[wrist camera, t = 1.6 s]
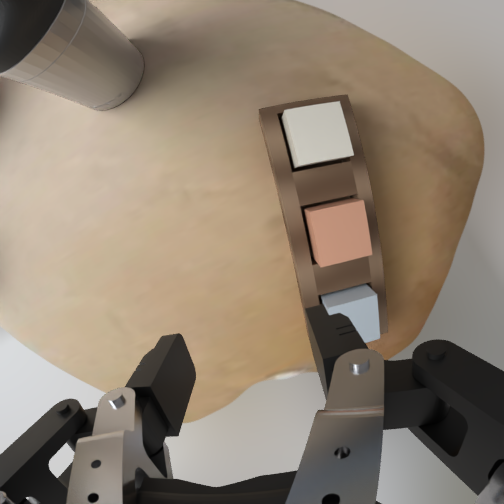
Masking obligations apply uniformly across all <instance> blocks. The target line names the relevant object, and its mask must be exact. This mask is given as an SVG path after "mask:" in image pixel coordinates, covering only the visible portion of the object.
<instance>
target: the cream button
mask: <svg viewBox="0 0 504 504" xmlns="http://www.w3.org/2000/svg"><path fill="white" fill-rule="evenodd" d="M282 123H283V127H284V131H285V134H286V138H287V142H288V146H289V150H290V154H291V158H292V162H293V166H294V168H297V167H302V166H307V165H312V164H317V163H322V162H327V161H333V160H338V159H343V158H347V157H350V156H353V155H354V153H353V149H352V145H351V141H350V137H349V133H348V129H347V125H346V122H345V118H344V115H343V111H342V108H341V104H340V101H338V102H330V103H323V104H317V105H310V106H304V107H298V108H293V109H287V110H284V113H283V116H282Z"/></svg>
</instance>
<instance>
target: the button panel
mask: <svg viewBox="0 0 504 504" xmlns="http://www.w3.org/2000/svg"><path fill="white" fill-rule="evenodd" d="M338 101H340V104H341V108H342V111H343V115H344V118H345V122H346V125H347V129H348V133H349V137H350V141H351V145H352V149H353V153H354V155H353V156H350V157H347V158H343V159H338V160H333V161H327V162H322V163H317V164H312V165H307V166H302V167H297V168H294V166H293V162H292V158H291V154H290V150H289V146H288V142H287V138H286V134H285V131H284V127H283V123H282V116H283V113H284V110H287V109H293V108H298V107H304V106H310V105H317V104H323V103H330V102H338ZM259 120H260V124H261V128H262V132H263V136H264V140H265V143H266V147H267V151H268V155H269V159H270V163H271V167H272V171H273V175H274V179H275V184H276V188H277V192H278V196H279V200H280V205H281V209H282V213H283V218H284V222H285V226H286V231H287V235H288V240H289V244H290V249H291V253H292V258H293V263H294V267H295V272H296V277H297V282H298V287H299V291H300V296H301V301H302V306H303V311H304V316H305V310H304V308H309V307H313V306H317V305H321V304H322V301H321V295H322V294H326V293H330V292H334V291H338V290H342V289H346V288H349V287H353V286H357V285H361V284H364V283H366V284H367V285H368V286H369V287H370V288H371V289H372V290H373V291H374V292H375V293H376V294H377V300H378V312H379V327H380V334H383V333H386V332H388V321H387V304H386V291H385V280H384V270H383V261H382V253H381V245H380V238H379V231H378V225H377V218H376V212H375V207H374V201H373V196H372V190H371V185H370V180H369V175H368V171H367V166H366V162H365V157H364V153H363V149H362V145H361V141H360V137H359V133H358V129H357V126H356V122H355V118H354V115H353V111H352V108H351V105H350V101H349V98H348V95H339V96H331V97H324V98H317V99H311V100H304V101H298V102H293V103H287V104H282V105H277V106H272V107H267V108H262V109H259ZM351 198H353V199H359V200H364V205H365V210H366V216H367V222H368V228H369V234H370V241H371V248H372V255H369V256H365V257H361V258H357V259H353V260H350V261H346V262H342V263H338V264H333V265H329V266H325V267H320V266H319V265H318V263H317V262H316V260H315V259H314V257H313V252H312V247H311V242H310V237H309V232H308V227H307V223H306V218H305V213H304V209H305V208H309V207H314V206H318V205H323V204H327V203H332V202H337V201H341V200H346V199H351ZM305 322H306V327H307V332H308V326H307V321H306V316H305ZM308 337H309V332H308ZM309 340H310V337H309Z"/></svg>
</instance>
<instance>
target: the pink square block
mask: <svg viewBox="0 0 504 504" xmlns="http://www.w3.org/2000/svg"><path fill="white" fill-rule="evenodd" d="M304 213H305V218H306V223H307V227H308V232H309V237H310V242H311V247H312V252H313V257H314V259H315V260H316V262H317V263H318V265H319V266H320V267H325V266H329V265H333V264H338V263H342V262H346V261H350V260H353V259H357V258H361V257H365V256H369V255H372V248H371V241H370V234H369V228H368V222H367V216H366V210H365V205H364V200H359V199H353V198H351V199H346V200H341V201H337V202H332V203H327V204H323V205H318V206H314V207H309V208H305V209H304Z"/></svg>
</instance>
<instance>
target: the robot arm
mask: <svg viewBox="0 0 504 504" xmlns="http://www.w3.org/2000/svg"><path fill="white" fill-rule="evenodd" d="M143 71H144V61H143V57H142V55H141V53H140V52H139V51H138V50H137V49H136V48H135V47H134V45H133V44H132V43H131V42H130V41H129V40H128V38H127V37H126V36H125V35H124V34H123V33H122V32H121V31H120V30H119V29H118V28H117V27H116V26H115V25H114V24H113V23H112V22H111V21H110V20H109V19H108V18H107V17H106V16H105V15H104V14H103V13H102V12H101V11H100V10H99V9H97V8H96V7H95V6H94V5H92V4H91V3H90V2H89V1H88V0H0V76H1V77H4V78H7V79H11V80H14V81H17V82H20V83H23V84H26V85H29V86H32V87H35V88H38V89H41V90H44V91H46V92H49V93H52V94H55V95H57V96H60V97H63V98H66V99H68V100H71V101H73V102H76V103H79V104H81V105H84V106H87V107H89V108H92V109H94V110H108V109H111V108H114V107H116V106H118V105H119V104H121V103H123V102H124V101H125V100H126V99H128V98H129V97H130V95H131V94H132V93H133V92H134V91H135V89H136V88H137V86H138V85H139V83H140V81H141V78H142V75H143ZM304 310H305V316H306V321H307V326H308V332H309V337H310V343H311V348H312V352H313V356H314V360H315V363H316V367H317V370H318V373H319V377H320V380H321V383H322V387H323V391H324V394H325V397H326V404H325V408H324V410H318V411H317V413H316V415H315V418H314V421H313V425H312V428H311V431H310V435H309V438H308V441H307V444H306V447H305V450H304V453H303V456H302V459H301V462H300V465H299V468H298V470H297V471H292V472H285V473H279V474H271V475H263V476H258V477H255V478H252V479H248V480H245V481H241V482H237V483H234V484H230V485H226V486H221V487H211V486H206V485H201V484H196V483H191V482H188V481H183V480H179V479H173V474H172V468H171V462H170V457H169V449H168V447H167V445H166V443H165V442H164V440H165V437H169V436H179V432H180V429H181V425H182V422H183V419H184V416H185V412H186V409H187V406H188V403H189V399H190V396H191V393H192V390H193V386H194V383H195V380H196V372H195V367H194V364H193V362H192V359H191V357H190V354H189V351H188V349H187V346H186V344H185V341H184V339H183V337H182V335H181V334H179V333H178V334H172V335H166V336H162V337H161V338H160V340H159V341H158V343H157V345H156V346H155V348H154V349H152V350H151V351H150V352H148V353H147V354H146V355H145V356H144V357H143V358H142V360H141V362H140V363H139V364H140V365H138V366H137V368H136V371H134V373H133V374H132V376H131V378H130V379H129V381H128V383H127V384H126V386H125V387H121V388H117V389H114V390H111V391H109V392H108V393H106V394H105V395H104V396H103V397H102V398H101V399H100V401H99V403H98V407H96V408H91V409H87V410H84V409H83V408H82V406H81V405H80V403H79V402H78V401H77V400H75V399H67V400H63V401H61V402H59V403H57V404H56V405H54V406H53V407H52V408H51V409H50V410H49V411H48V412H47V413H45V414H44V415H43V416H42V417H41V418H40V419H39V420H38V421H37V422H36V423H35V424H33V425H32V426H31V427H30V428H29V429H28V430H27V431H26V432H25V433H23V434H22V435H21V436H20V437H19V438H18V439H17V440H16V441H15V442H14V443H13V444H11V445H10V446H9V447H8V448H7V449H6V450H5V451H4V452H3V453H2V454H1V455H0V504H381V503H379V502H377V501H376V496H377V489H378V481H379V473H380V463H381V452H382V438H383V430H386V429H387V430H388V429H397V428H407V427H408V429H409V430H410V431H411V432H412V433H413V434H414V435H415V436H416V437H417V438H418V439H419V440H420V441H421V442H422V443H423V444H424V445H425V446H426V447H427V448H429V449H430V450H431V451H432V452H433V453H434V454H435V455H436V456H437V457H438V458H439V459H440V460H441V461H442V462H443V463H444V464H445V465H446V466H447V467H448V468H449V469H450V470H451V471H452V472H453V473H455V474H456V475H457V476H458V477H459V478H460V479H461V480H462V481H463V482H464V483H465V484H466V485H467V486H468V487H469V488H470V489H471V490H472V491H474V492H475V493H476V494H477V495H478V497H477V499H476V502H475V504H504V371H502V370H500V369H499V368H497V367H495V366H493V365H491V364H490V363H488V362H486V361H484V360H483V359H481V358H479V357H477V356H475V355H474V354H472V353H470V352H468V351H466V350H465V349H462V348H461V347H459V346H457V345H456V344H454V343H452V342H450V341H446V340H430V341H427V342H424V343H422V344H420V345H419V346H417V347H416V349H415V350H414V352H413V356H412V359H406V360H398V361H388V360H384V358H383V356H382V355H381V354H380V353H379V352H377V351H375V350H371V349H368V347H367V345H366V344H365V342H364V341H363V339H362V337H361V336H360V334H359V333H358V331H357V330H356V328H355V326H354V325H353V323H352V322H351V320H350V319H349V317H347V316H345V315H343V314H341V313H336V314H332V315H329V314H328V312H327V310H326V308H325V306H324V304H321V305H317V306H313V307H309V308H304ZM66 442H67V444H68V445H69V446H70V447H71V448H72V450H73V451H74V452H75V455H74V459H73V462H72V463H71V464H70V465H69V466H68V467H67V469H66V470H65V471H64V472H63V473H62V474H61V476H59V477H58V478H56V477H55V476H54V475H53V474H52V472H51V471H50V470H49V465H48V464H49V460H50V459H51V458H52V456H54V455H55V454H56V453H57V451H58V450H59V449H60V448H61V447H62V446H63V445H64V444H65V443H66ZM26 497H29V499H28V500H27V499H26Z"/></svg>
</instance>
